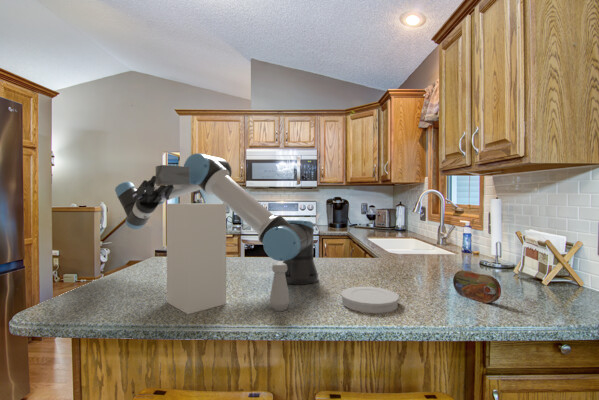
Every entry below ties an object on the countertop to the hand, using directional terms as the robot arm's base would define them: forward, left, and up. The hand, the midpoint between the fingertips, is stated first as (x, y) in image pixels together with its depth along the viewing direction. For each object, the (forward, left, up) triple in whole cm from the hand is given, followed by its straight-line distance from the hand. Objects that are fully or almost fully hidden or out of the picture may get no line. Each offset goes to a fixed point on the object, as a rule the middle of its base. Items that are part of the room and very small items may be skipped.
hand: (166, 172), depth 110 cm
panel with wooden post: (0, -1, -4) cm, 4 cm away
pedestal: (-14, +17, -41) cm, 46 cm away
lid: (-66, +20, -41) cm, 81 cm away
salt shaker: (-39, +24, -41) cm, 62 cm away
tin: (-101, +20, -41) cm, 111 cm away
